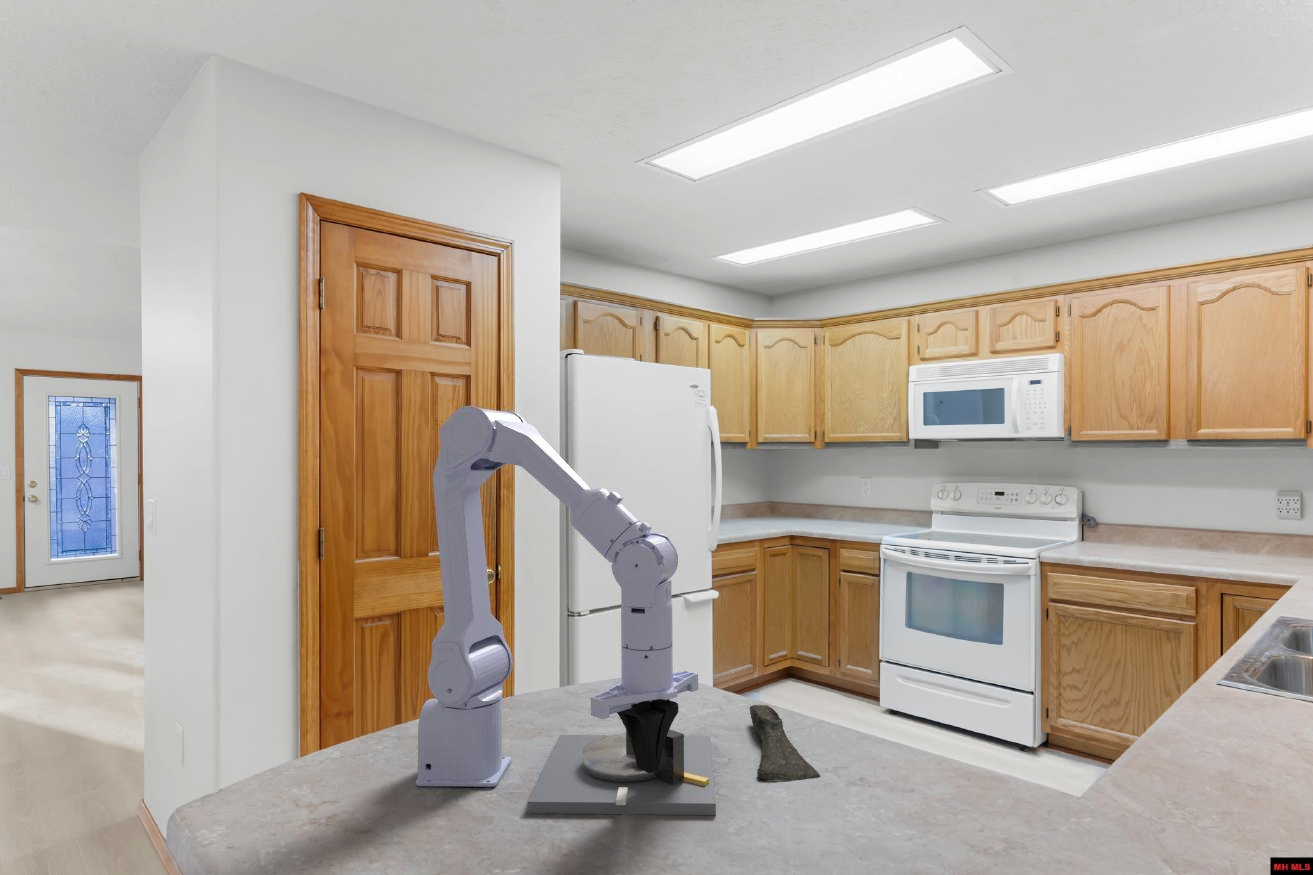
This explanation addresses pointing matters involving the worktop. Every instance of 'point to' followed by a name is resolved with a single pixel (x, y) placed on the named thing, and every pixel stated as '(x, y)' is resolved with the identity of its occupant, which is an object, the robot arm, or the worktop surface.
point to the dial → (632, 759)
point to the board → (623, 784)
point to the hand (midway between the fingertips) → (647, 768)
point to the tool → (777, 749)
